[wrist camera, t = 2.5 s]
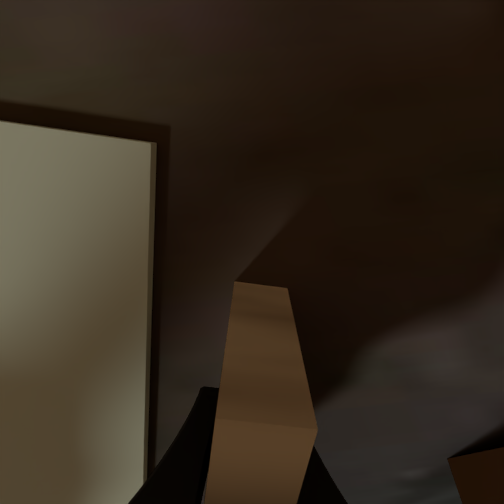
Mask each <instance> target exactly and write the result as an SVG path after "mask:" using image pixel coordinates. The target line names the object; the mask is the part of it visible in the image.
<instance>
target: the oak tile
mask: <svg viewBox="0 0 504 504" xmlns="http://www.w3.org/2000/svg"><path fill="white" fill-rule="evenodd" d="M317 431H318V428H317V423H316V418H315V414H314V409H313V404H312V400H311V395H310V391H309V386H308V381H307V377H306V372H305V367H304V363H303V358H302V354H301V349H300V344H299V340H298V335H297V330H296V326H295V321H294V317H293V312H292V307H291V303H290V298H289V293H288V289H287V288H282V287H274V286H267V285H259V284H251V283H243V282H236V281H234V288H233V296H232V303H231V310H230V317H229V324H228V331H227V339H226V346H225V352H224V359H223V366H222V373H221V380H220V387H219V395H218V402H217V409H216V416H215V423H214V431H213V438H212V446H211V454H210V462H209V469H208V477H207V485H206V493H205V500H204V504H297V500H298V497H299V493H300V490H301V487H302V483H303V480H304V476H305V473H306V469H307V466H308V462H309V459H310V455H311V452H312V448H313V445H314V441H315V438H316V435H317Z"/></svg>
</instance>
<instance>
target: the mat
mask: <svg viewBox="0 0 504 504" xmlns="http://www.w3.org/2000/svg"><path fill="white" fill-rule="evenodd" d="M156 153H157V143H154V142H147V141H140V140H133V139H126V138H120V137H113V136H106V135H99V134H92V133H85V132H78V131H71V130H64V129H58V128H51V127H44V126H37V125H30V124H23V123H16V122H9V121H2V120H0V504H128V503H129V501H130V500H131V499H132V498H133V497H134V495H135V494H136V493H137V492H138V490H139V489H140V488H141V487H142V485H143V484H144V483H145V481H146V480H147V459H148V425H149V391H150V357H151V323H152V289H153V255H154V221H155V187H156Z"/></svg>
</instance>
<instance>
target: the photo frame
mask: <svg viewBox="0 0 504 504" xmlns="http://www.w3.org/2000/svg"><path fill="white" fill-rule="evenodd" d="M447 460H448V462H449V465H450V468H451V471H452V474H453V477H454V480H455V483H456V486H457V489H458V492H459V495H460V498H461V501H462V504H504V447H502V448H497V449H492V450H487V451H483V452H478V453H473V454H468V455H463V456H458V457H453V458H449V459H447Z"/></svg>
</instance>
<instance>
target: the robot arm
mask: <svg viewBox="0 0 504 504" xmlns="http://www.w3.org/2000/svg"><path fill="white" fill-rule="evenodd" d="M218 395H219V388H213V387H202V388H200V391H199V394H198V397H197V399H196V401H195V404H194V406H193V408H192V410H191V412H190V413H189V415H188V417H187V419H186V421H185V423H184V424H183V426H182V428H181V430H180V431H179V433H178V435H177V436H176V438H175V440H174V441H173V443H172V444H171V446H170V447H169V449H168V450H167V452H166V453H165V455H164V456H163V458H162V459H161V461H160V462H159V464H158V465H157V466H156V468H155V469H154V471H153V472H152V473H151V475H150V476H149V477H148V479H147V480H146V481H145V483H144V484H143V485H142V487H141V488H140V489H139V490H138V492H137V493H136V494H135V495H134V497H133V498H132V499H131V500H130V501H129V503H128V504H201V501H202V496H203V491H204V487H205V482H206V478H207V473H208V469H209V462H210V454H211V446H212V438H213V431H214V423H215V416H216V409H217V402H218ZM297 504H348V503H347V502H346V500H345V499H344V497H343V496H342V494H341V493H340V491H339V489H338V488H337V486H336V484H335V483H334V481H333V479H332V478H331V476H330V474H329V473H328V471H327V469H326V467H325V466H324V464H323V462H322V460H321V458H320V456H319V455H318V453H317V451H316V449H315V447H314V445H313V448H312V452H311V455H310V459H309V462H308V466H307V469H306V473H305V476H304V480H303V483H302V487H301V490H300V493H299V497H298V500H297Z"/></svg>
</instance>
